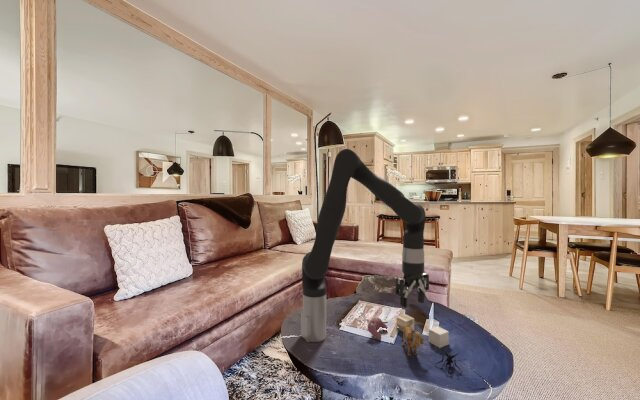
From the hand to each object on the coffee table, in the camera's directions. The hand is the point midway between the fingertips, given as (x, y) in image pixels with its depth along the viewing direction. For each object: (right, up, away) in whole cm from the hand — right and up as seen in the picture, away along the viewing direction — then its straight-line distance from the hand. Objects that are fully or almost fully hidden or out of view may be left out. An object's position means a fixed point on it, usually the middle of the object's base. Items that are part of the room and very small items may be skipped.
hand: (412, 304), depth 104 cm
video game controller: (-10, -17, +13) cm, 23 cm away
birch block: (+2, -16, +17) cm, 24 cm away
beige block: (+12, -17, +6) cm, 21 cm away
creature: (+8, -18, -10) cm, 22 cm away
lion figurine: (0, -17, +1) cm, 17 cm away
